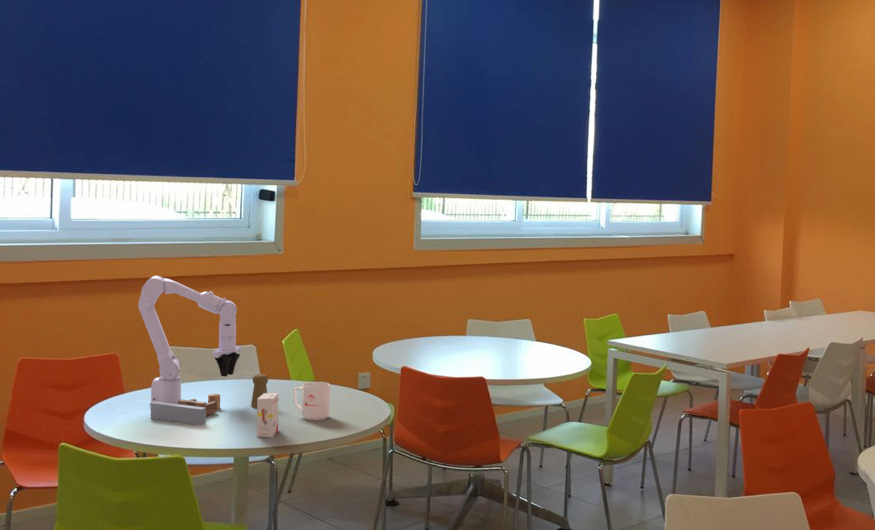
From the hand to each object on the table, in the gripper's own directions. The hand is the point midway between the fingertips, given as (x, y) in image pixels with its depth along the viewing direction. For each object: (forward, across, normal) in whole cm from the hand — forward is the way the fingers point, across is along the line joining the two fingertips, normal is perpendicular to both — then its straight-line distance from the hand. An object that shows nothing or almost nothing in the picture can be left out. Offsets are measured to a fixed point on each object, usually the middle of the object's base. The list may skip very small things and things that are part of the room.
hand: (227, 375), depth 310 cm
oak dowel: (+10, -8, 0) cm, 12 cm away
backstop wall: (+10, -27, 0) cm, 29 cm away
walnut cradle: (+10, -17, 0) cm, 20 cm away
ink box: (+10, -28, -33) cm, 44 cm away
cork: (+10, +2, -12) cm, 16 cm away
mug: (+10, -4, -35) cm, 37 cm away
